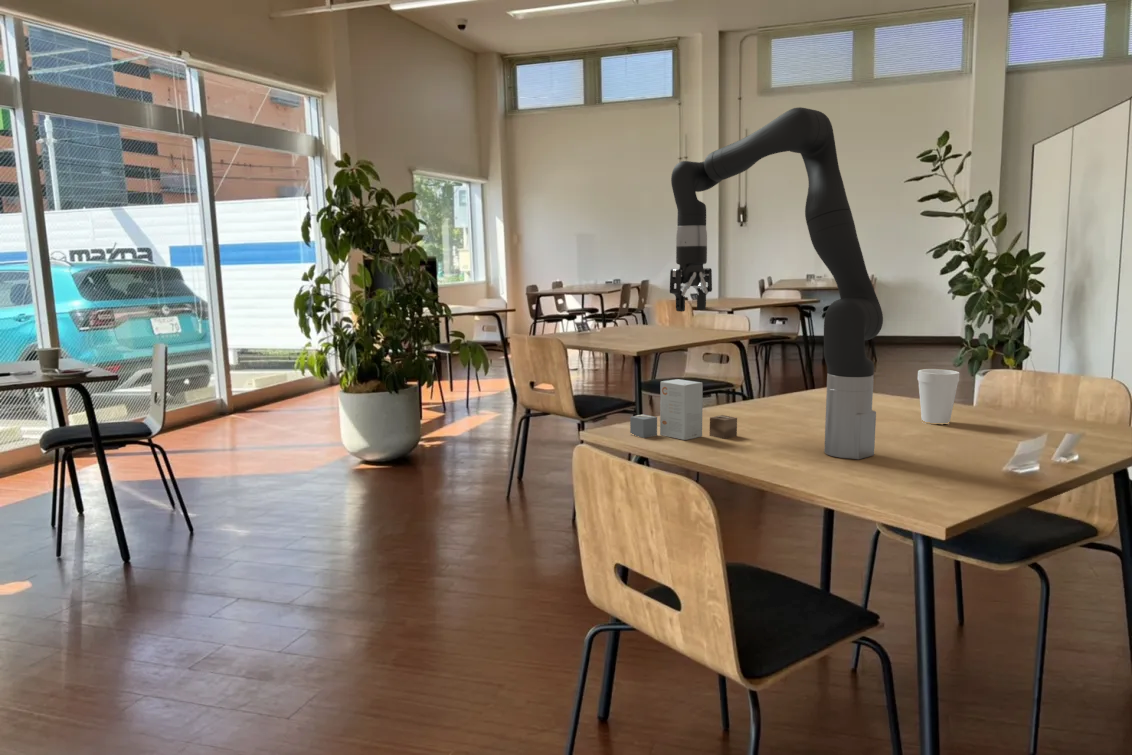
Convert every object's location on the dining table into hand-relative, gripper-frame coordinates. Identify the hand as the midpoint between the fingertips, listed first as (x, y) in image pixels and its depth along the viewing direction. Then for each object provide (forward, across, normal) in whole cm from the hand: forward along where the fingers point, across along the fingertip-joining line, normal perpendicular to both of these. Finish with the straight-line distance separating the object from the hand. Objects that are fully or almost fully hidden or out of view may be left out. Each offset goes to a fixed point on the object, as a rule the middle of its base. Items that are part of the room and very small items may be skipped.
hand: (691, 310), depth 201 cm
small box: (+29, -13, -7) cm, 33 cm away
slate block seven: (+29, -18, 0) cm, 34 cm away
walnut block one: (+29, -6, -14) cm, 33 cm away
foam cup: (+29, +43, -44) cm, 68 cm away
